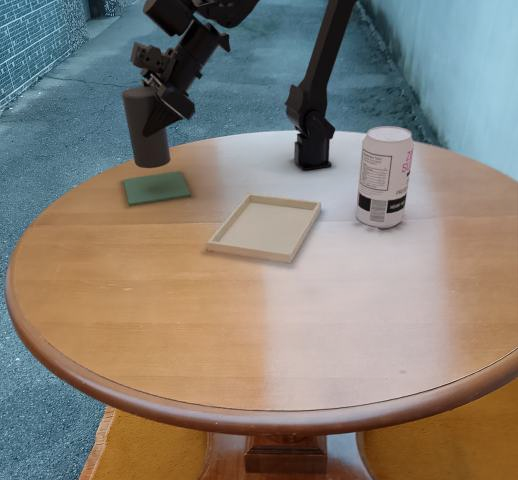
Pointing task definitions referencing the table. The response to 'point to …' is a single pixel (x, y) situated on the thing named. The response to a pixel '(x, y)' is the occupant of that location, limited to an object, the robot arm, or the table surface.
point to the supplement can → (384, 176)
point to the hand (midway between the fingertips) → (140, 129)
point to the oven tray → (266, 228)
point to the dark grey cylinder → (137, 114)
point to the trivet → (156, 188)
